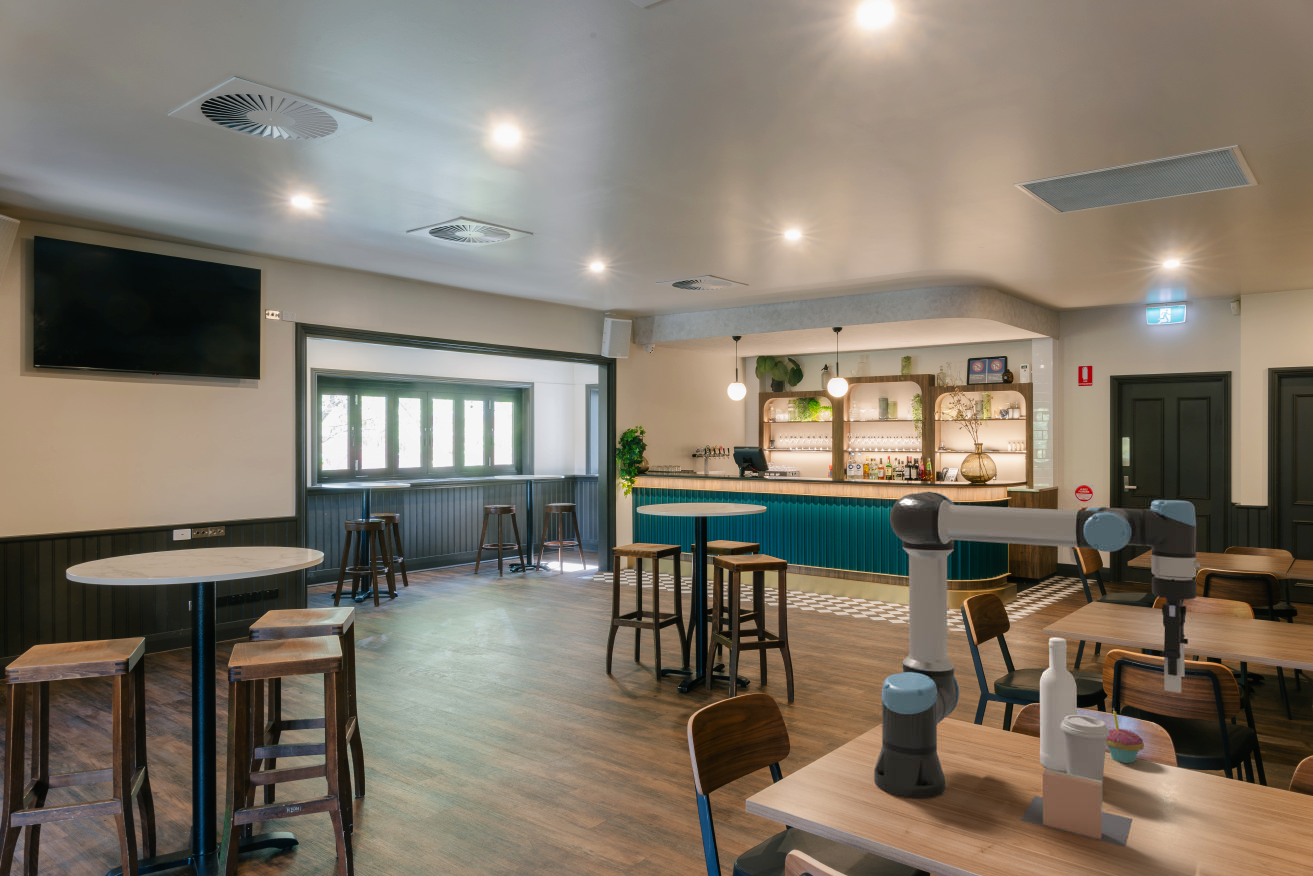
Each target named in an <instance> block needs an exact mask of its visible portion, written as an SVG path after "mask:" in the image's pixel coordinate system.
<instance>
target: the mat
mask: <svg viewBox="0 0 1313 876" xmlns="http://www.w3.org/2000/svg"><path fill="white" fill-rule="evenodd" d="M1020 821H1022V822H1026V823H1031V824H1034V825H1039V826H1041V827H1046V828H1050V829H1054V830H1058V831H1061V832H1065V833H1069V834H1073V835H1077V836H1081V837H1084V838H1087V839H1092V840H1097V841H1100V842H1104V843H1108V844H1111V845H1116V846H1119V847H1120V846H1121V847H1123V848H1124V847H1125V848H1126V844H1127V840H1128V836H1129V834H1130V833H1129V832H1130V829H1131V824H1132V821H1133V818H1129V817H1126V816H1122V815H1121V816H1120V815H1117V814H1112V813H1109V812H1106V811H1105V812H1104V811H1103V834H1102V837H1101V839H1097V838H1094V837H1090V836H1086V835H1082V834H1078V833H1074V832H1070V831H1066V830H1062V829H1058V828H1054V827H1051V826H1047V825H1043V796H1042V797H1041V796H1038V795H1033V797H1032V799H1031V801H1030V803H1029V805H1028V807H1027V808H1026V809H1025V811H1024V813H1023V815H1022V816H1021V819H1020Z"/></svg>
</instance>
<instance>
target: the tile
mask: <svg viewBox="0 0 1313 876" xmlns="http://www.w3.org/2000/svg"><path fill="white" fill-rule="evenodd" d="M1042 798H1043V825H1047V826H1051V827H1054V828H1058V829H1062V830H1066V831H1070V832H1074V833H1078V834H1082V835H1086V836H1090V837H1094V838H1097V839H1101V837H1102V834H1103V812H1104V811H1103V810H1104V809H1103V808H1104V807H1103V805H1104V803H1103V802H1104V801H1103V784H1102V781H1100V780H1095V779H1090V778H1086V777H1081V776H1077V775H1072V774H1067V772H1060V771H1054V770H1051V769H1048V768H1045V769H1044V770H1043V773H1042Z"/></svg>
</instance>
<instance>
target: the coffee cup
mask: <svg viewBox="0 0 1313 876" xmlns="http://www.w3.org/2000/svg"><path fill="white" fill-rule="evenodd" d="M1060 728H1061V729H1062V730H1063V737H1064V746H1065V756H1066V767H1067V772H1066V773H1067V774H1072V775H1077V776H1081V777H1086V778H1090V779H1095V780H1100V781H1102V785H1103V781H1104V769H1105V759H1106V748H1107V744H1106V740H1107V736H1109V730H1108V729H1109V728H1108V727H1107V726H1106V723H1105V722H1104V721H1103V720H1102V719H1099V718H1097V717H1093V716H1090V715H1089V716H1088V715H1082V714H1081V715H1080V714H1077V715H1068V716H1066V717H1065V718H1064V721H1062V723H1061V726H1060Z"/></svg>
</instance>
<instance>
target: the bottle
mask: <svg viewBox="0 0 1313 876" xmlns="http://www.w3.org/2000/svg"><path fill="white" fill-rule="evenodd" d="M1048 647H1049V649H1048V650H1049V651H1048V652H1049V653H1048V655H1049V657H1048V659H1049V661H1048V662H1049V664H1048V665H1049V666H1048V668H1047V669H1045V670H1044V671H1043V672H1042V674H1041V676H1040V679H1039V734H1040V735H1039V739H1040V740H1039V743H1040V748H1039V759H1040V760H1039V762H1040V765H1042V766H1043V767H1044V768H1045V769H1049V770H1054V771H1058V772H1063V773H1067V767H1066V756H1065V746H1064V737H1063V730H1062V729H1061V728H1060V726H1061V723H1062V721H1064V718H1065V717H1066V716H1068V715H1078V713H1077V712H1078V711H1077V710H1078V709H1077V707H1078V706H1077V705H1078V704H1077V701H1078V700H1077V697H1078V696H1077V695H1078V694H1077V687H1078V686H1077V683H1076V680H1075V677H1074V675H1073V674H1072V673H1071V672H1070V671H1069V670H1068V669H1067V648H1068V645H1067V640H1066V639H1065V638H1063V637H1050V638H1049V639H1048Z"/></svg>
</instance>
